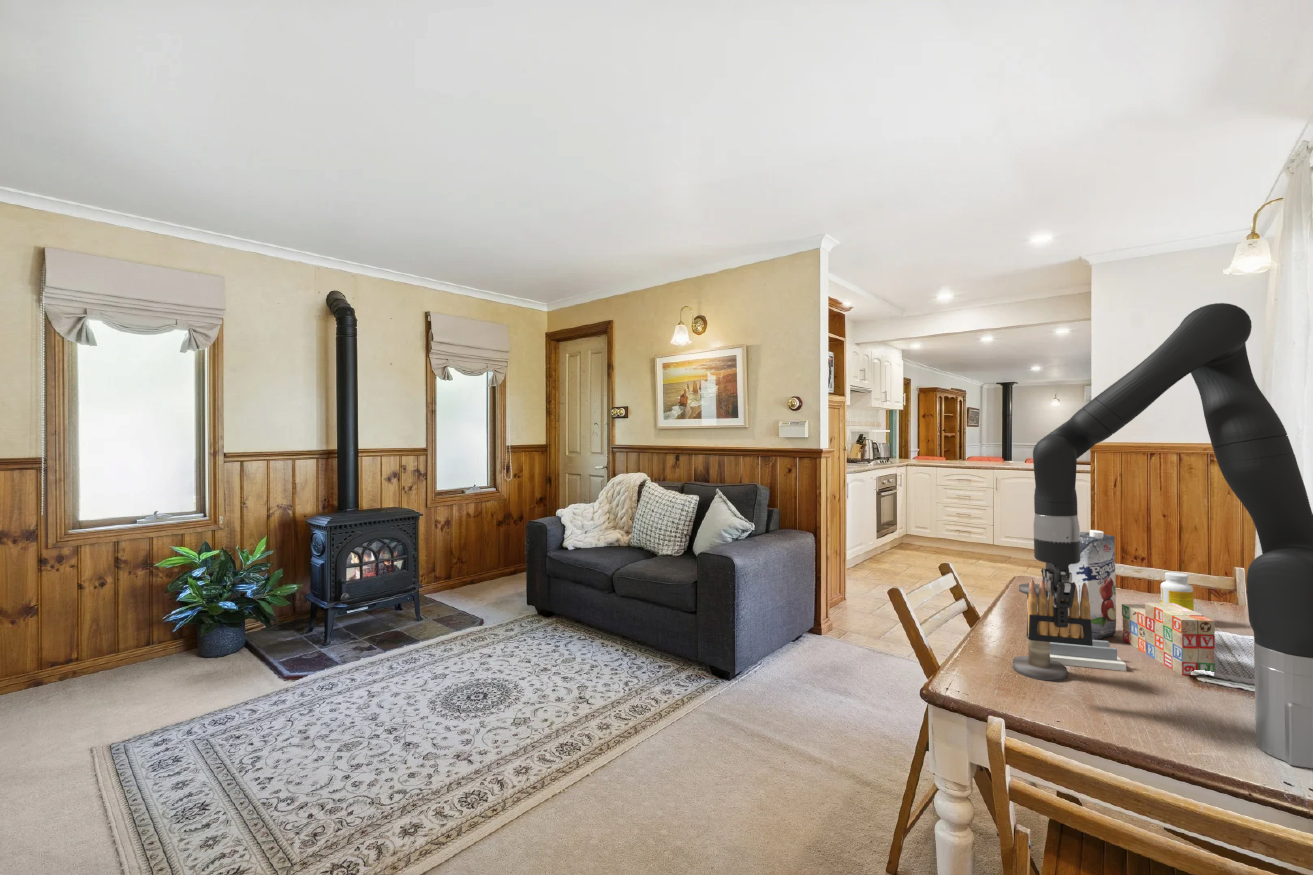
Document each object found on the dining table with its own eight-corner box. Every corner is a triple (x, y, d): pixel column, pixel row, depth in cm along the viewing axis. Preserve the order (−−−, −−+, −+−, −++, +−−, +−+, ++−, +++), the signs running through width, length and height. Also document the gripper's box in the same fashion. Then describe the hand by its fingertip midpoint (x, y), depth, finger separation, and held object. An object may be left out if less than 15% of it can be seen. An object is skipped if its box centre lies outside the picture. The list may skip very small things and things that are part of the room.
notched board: (1126, 671, 127) (1125, 652, 127) (1045, 663, 132) (1045, 645, 132) (1110, 655, 135) (1110, 638, 135) (1035, 648, 141) (1035, 632, 141)
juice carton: (1059, 632, 152) (1057, 528, 151) (1084, 625, 156) (1081, 525, 156) (1096, 643, 143) (1094, 534, 143) (1121, 636, 148) (1119, 530, 147)
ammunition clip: (1028, 640, 116) (1027, 579, 116) (1026, 636, 117) (1025, 577, 117) (1093, 646, 112) (1092, 583, 112) (1089, 642, 114) (1088, 581, 114)
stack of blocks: (1121, 640, 145) (1120, 591, 145) (1150, 641, 144) (1149, 592, 144) (1182, 676, 124) (1181, 618, 124) (1216, 677, 123) (1215, 619, 123)
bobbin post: (1073, 683, 121) (1071, 595, 121) (1018, 677, 125) (1016, 591, 125) (1059, 665, 131) (1057, 583, 131) (1008, 660, 134) (1006, 580, 134)
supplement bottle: (1201, 624, 154) (1200, 576, 154) (1176, 625, 154) (1175, 577, 154) (1178, 616, 161) (1177, 570, 161) (1154, 617, 161) (1153, 571, 161)
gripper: (1091, 544, 107) (1094, 638, 107) (1067, 531, 120) (1070, 615, 120) (1043, 542, 109) (1046, 634, 109) (1025, 530, 122) (1028, 612, 122)
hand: (1058, 624), depth 115 cm, fingers closed on ammunition clip, 2 cm apart
